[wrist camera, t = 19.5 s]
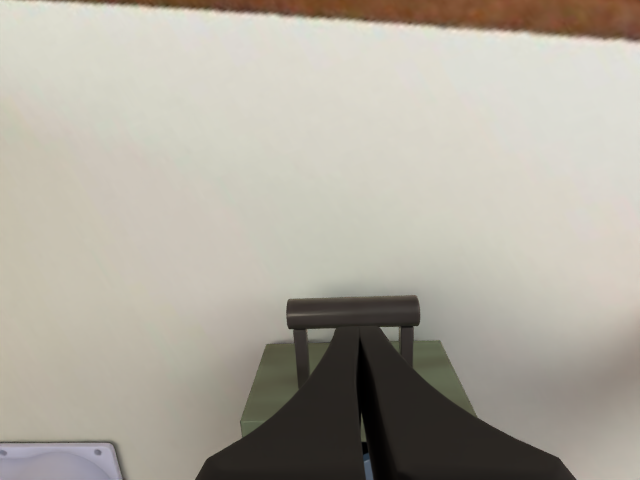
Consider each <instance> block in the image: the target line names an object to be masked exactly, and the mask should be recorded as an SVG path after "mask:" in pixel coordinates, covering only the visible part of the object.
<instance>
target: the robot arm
mask: <svg viewBox="0 0 640 480" xmlns="http://www.w3.org/2000/svg"><path fill="white" fill-rule="evenodd" d="M361 412H362V418H363V424H364V430H365V435H366V441H367V447H368V452H369V458H370V463H371V469H372V475H373V480H576V479H575V477H574V476H573V475H572V474H571V472H570V471H569V470H568V469H567V468H566V466H565V465H564V464H563V462H562V461H561V460H560V459H559V458H558V457H556V456H553V455H551V454H549V453H547V452H544V451H542V450H540V449H538V448H535V447H533V446H531V445H529V444H526V443H524V442H522V441H520V440H517V439H515V438H513V437H511V436H509V435H507V434H506V433H504V432H502V431H500V430H498V429H496V428H494V427H492V426H491V425H489V424H487V423H485V422H484V421H482V420H480V419H478V418H477V417H475V416H473V415H472V414H470V413H469V412H467V411H466V410H464V409H463V408H461V407H460V406H458V405H457V404H455V403H454V402H452V401H451V400H449V399H448V398H447V397H445V396H444V395H443V394H442V393H440V392H439V391H438V390H436V389H435V388H434V387H433V386H431V385H430V384H429V383H428V382H427V381H426V380H425V379H424V378H422V377H421V376H420V375H419V374H418V373H417V372H416V371H415V370H414V369H413V368H412V367H411V366H410V365H409V364H408V362H407V361H406V360H405V359H404V358H403V357H402V356H401V355H400V353H399V352H398V351H397V350H396V349H395V348H394V346H393V345H392V344H391V342H390V341H389V340H388V339H387V337H386V336H385V334H384V333H383V331H382V330H381V329H380V328H379V327H378V326H345V327H338V328H337V329H336V330H335V333H334V336H333V338H332V340H331V342H330V344H329V346H328V348H327V350H326V352H325V353H324V355H323V357H322V359H321V360H320V362H319V363H318V365H317V366H316V368H315V369H314V371H313V372H312V373H311V375H310V376H309V378H308V379H307V380H306V381H305V383H304V384H303V385H302V386H301V388H300V389H299V390H298V391H297V392H296V393H295V394H294V395H293V397H292V398H291V399H290V400H289V401H288V402H287V403H286V404H285V405H284V406H282V407H281V408H280V409H279V410H278V411H277V412H276V413H275V414H274V415H273V416H272V417H271V418H269V419H268V420H267V421H265V422H264V423H263V424H262V425H260V426H259V427H257V428H256V429H255V430H253V431H252V432H250V433H249V434H248V435H246V436H245V437H243V438H242V439H240V440H238V441H237V442H235V443H233V444H232V445H230V446H228V447H227V448H225V449H223V450H222V451H220V452H218V453H216V454H215V455H213V456H211V457H209V458H208V459H207V460H206V461H205V463H204V465H203V467H202V468H201V470H200V472H199V474H198V475H197V477H196V479H195V480H366V475H365V468H364V460H363V451H362V442H361ZM0 480H122V476H121V472H120V468H119V464H118V460H117V456H116V453H115V449H114V446H113V445H112V444H110V443H0Z"/></svg>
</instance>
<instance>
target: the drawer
mask: <svg viewBox="0 0 640 480" xmlns="http://www.w3.org/2000/svg"><path fill="white" fill-rule="evenodd" d="M286 316H287V326H288V328H289V329H294V330H293V333H294V344H266V347H265V350H264V353H263V356H262V359H261V362H260V365H259V368H258V370H257V373H256V376H255V379H254V382H253V385H252V388H251V391H250V394H249V397H248V400H247V403H246V406H245V409H244V412H243V415H242V418H241V421H240V424H241V431H242V438H243V437H245V436H246V435H248V434H249V433H250V432H252V431H253V430H255V429H256V428H257V427H259V426H260V425H262V424H263V423H264V422H265V421H267V420H268V419H269V418H271V417H272V416H273V415H274V414H275V413H276V412H277V411H278V410H279V409H280V408H281V407H282V406H284V405H285V404H286V403H287V402H288V401H289V400H290V399H291V398H292V397H293V395H294V394H295V393H296V392H297V391H298V390H299V389H300V388H301V386H302V385H303V384H304V383H305V381H306V380H307V379H308V378H309V376H310V375H311V373H312V372H313V371H314V369H315V368H316V366H317V365H318V363H319V362H320V360H321V359H322V357H323V355H324V353H325V352H326V350H327V348H328V346H329V344H330V343H308V335H307V329H320V328H338V327H345V326H378V327H399V341H390V342H391V344H392V345H393V346H394V348H395V349H396V350H397V351H398V352H399V353H400V355H401V356H402V357H403V358H404V359H405V360H406V361H407V362H408V364H409V365H410V366H411V367H412V368H413V369H414V370H415V371H416V372H417V373H418V374H419V375H420V376H421V377H422V378H424V379H425V380H426V381H427V382H428V383H429V384H430V385H431V386H433V387H434V388H435V389H436V390H438V391H439V392H440V393H442V394H443V395H444V396H445V397H447V398H448V399H449V400H451V401H452V402H454V403H455V404H457V405H458V406H460V407H461V408H463V409H464V410H466V411H467V412H469V413H470V414H472V415H473V416H475V417H477V415H476V413H475V411H474V409H473V407H472V405H471V403H470V401H469V399H468V397H467V395H466V393H465V391H464V389H463V387H462V385H461V383H460V381H459V379H458V377H457V374H456V372H455V370H454V368H453V366H452V364H451V362H450V360H449V358H448V356H447V354H446V352H445V350H444V348H443V346H442V344H441V342H440V340H432V341H413V338H414V328H413V326H418V325H419V323H420V306H419V301H418V298H417V296H415V295H406V296H373V297H339V298H306V299H289V300H288V302H287V310H286ZM361 442H367V441H366V435H365V430H364V424H363V418H362V412H361Z"/></svg>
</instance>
